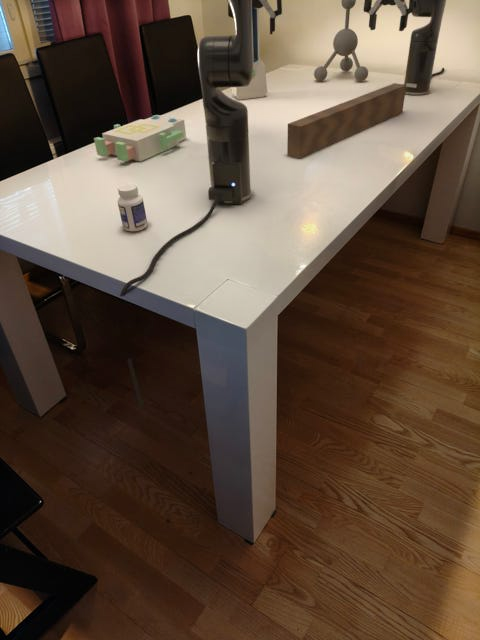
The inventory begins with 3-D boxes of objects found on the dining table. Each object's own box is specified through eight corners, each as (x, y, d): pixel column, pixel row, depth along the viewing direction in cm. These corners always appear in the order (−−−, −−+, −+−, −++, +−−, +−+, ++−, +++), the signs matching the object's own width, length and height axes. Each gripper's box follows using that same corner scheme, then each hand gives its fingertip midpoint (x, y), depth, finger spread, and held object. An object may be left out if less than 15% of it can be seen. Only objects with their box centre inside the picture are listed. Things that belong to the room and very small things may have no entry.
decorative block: (146, 110, 155) (194, 118, 145) (149, 131, 159) (196, 140, 149) (83, 133, 139) (132, 144, 129) (88, 156, 143) (136, 168, 133)
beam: (299, 158, 133) (300, 126, 128) (287, 155, 136) (287, 123, 130) (402, 112, 162) (406, 84, 157) (390, 110, 165) (394, 83, 160)
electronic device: (236, 100, 185) (231, 6, 166) (231, 95, 191) (226, 5, 172) (267, 96, 187) (266, 3, 169) (261, 92, 193) (260, 2, 174)
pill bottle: (149, 220, 107) (142, 181, 102) (146, 231, 103) (138, 191, 98) (125, 221, 107) (116, 182, 102) (121, 232, 103) (112, 193, 98)
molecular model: (302, 76, 212) (304, -7, 193) (348, 70, 216) (355, -11, 198) (326, 87, 194) (331, -3, 175) (375, 81, 198) (385, -8, 180)
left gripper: (224, -38, 120) (228, 38, 130) (282, -41, 119) (282, 35, 129) (226, -38, 126) (230, 34, 136) (281, -42, 125) (281, 31, 135)
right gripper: (426, -43, 127) (416, 29, 137) (375, -41, 134) (368, 27, 144) (416, -41, 123) (406, 33, 133) (363, -39, 130) (357, 31, 140)
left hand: (255, 34), depth 132 cm, fingers open, 8 cm apart
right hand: (386, 30), depth 139 cm, fingers open, 8 cm apart
